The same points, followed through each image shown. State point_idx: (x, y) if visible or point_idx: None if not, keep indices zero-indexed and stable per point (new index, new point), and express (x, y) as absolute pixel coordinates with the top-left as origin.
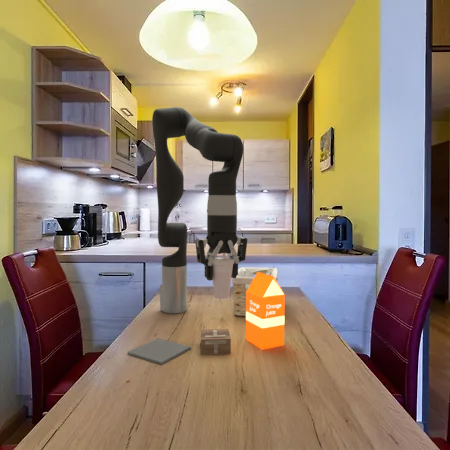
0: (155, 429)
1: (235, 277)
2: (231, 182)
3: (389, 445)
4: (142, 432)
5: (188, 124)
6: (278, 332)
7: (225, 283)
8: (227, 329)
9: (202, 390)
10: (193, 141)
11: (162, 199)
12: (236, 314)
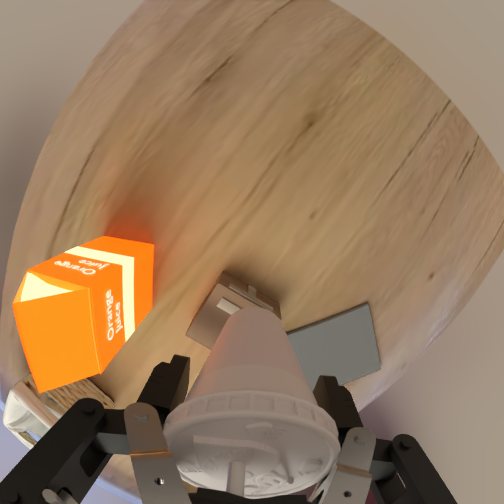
0: (454, 135)
1: (179, 355)
2: None
3: None
4: (465, 142)
5: None
6: (100, 245)
7: (262, 334)
8: (188, 333)
9: (367, 169)
10: None
11: None
12: (111, 400)
